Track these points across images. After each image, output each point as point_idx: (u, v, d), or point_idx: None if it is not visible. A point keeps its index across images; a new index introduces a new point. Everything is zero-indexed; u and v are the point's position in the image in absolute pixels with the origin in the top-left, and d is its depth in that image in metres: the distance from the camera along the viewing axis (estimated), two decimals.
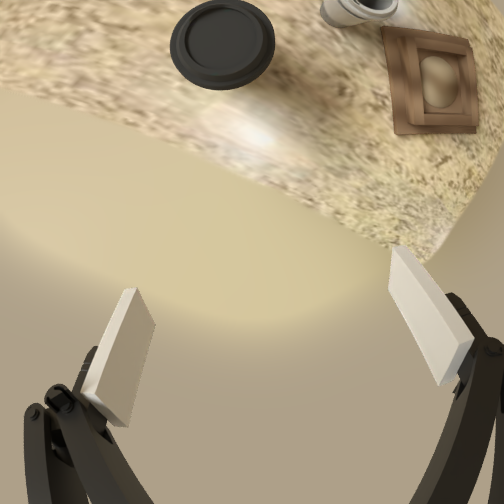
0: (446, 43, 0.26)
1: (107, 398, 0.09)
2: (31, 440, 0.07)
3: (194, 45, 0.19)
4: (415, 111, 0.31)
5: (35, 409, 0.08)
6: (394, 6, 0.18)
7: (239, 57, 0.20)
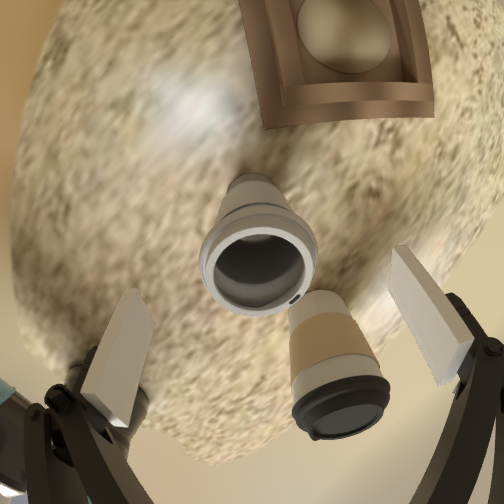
0: (273, 16, 0.15)
1: (107, 398, 0.09)
2: (31, 440, 0.07)
3: (344, 430, 0.22)
4: (415, 99, 0.18)
5: (35, 409, 0.08)
6: (289, 235, 0.15)
7: (369, 410, 0.21)
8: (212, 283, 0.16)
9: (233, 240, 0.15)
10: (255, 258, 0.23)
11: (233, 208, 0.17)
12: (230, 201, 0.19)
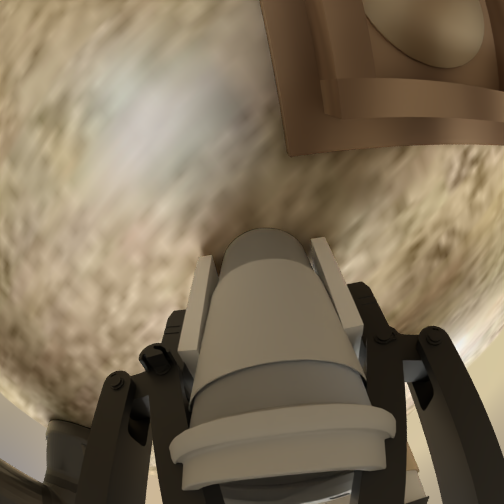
0: None
1: None
2: (106, 411, 0.08)
3: None
4: None
5: (120, 378, 0.09)
6: (359, 468, 0.05)
7: None
8: None
9: (234, 480, 0.05)
10: None
11: (233, 366, 0.08)
12: (227, 323, 0.09)
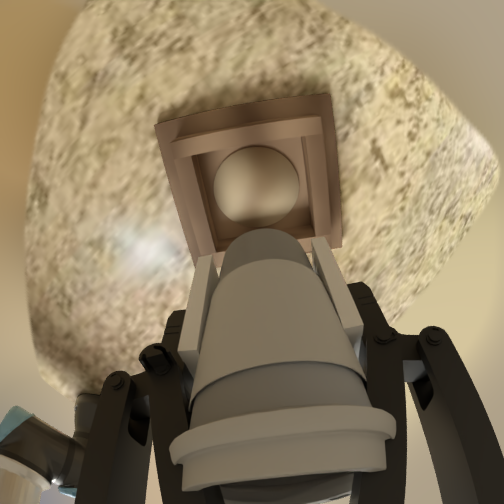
0: (187, 201, 0.25)
1: None
2: (106, 411, 0.08)
3: None
4: None
5: (120, 378, 0.09)
6: (359, 469, 0.05)
7: None
8: None
9: (234, 482, 0.05)
10: None
11: (233, 367, 0.08)
12: (227, 324, 0.09)
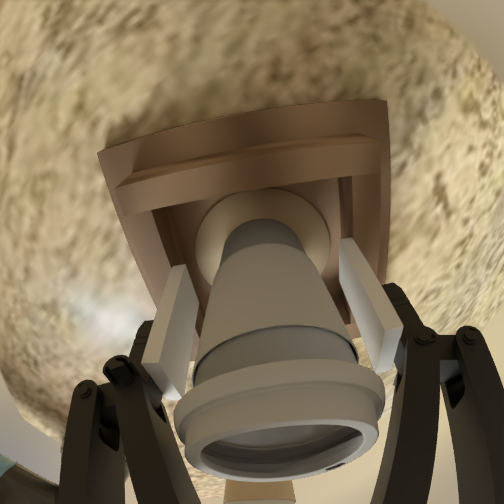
0: (152, 279, 0.16)
1: (168, 368, 0.11)
2: (77, 419, 0.08)
3: None
4: None
5: (88, 387, 0.09)
6: (349, 422, 0.06)
7: None
8: (200, 463, 0.07)
9: (234, 434, 0.06)
10: None
11: (232, 332, 0.09)
12: (227, 299, 0.11)
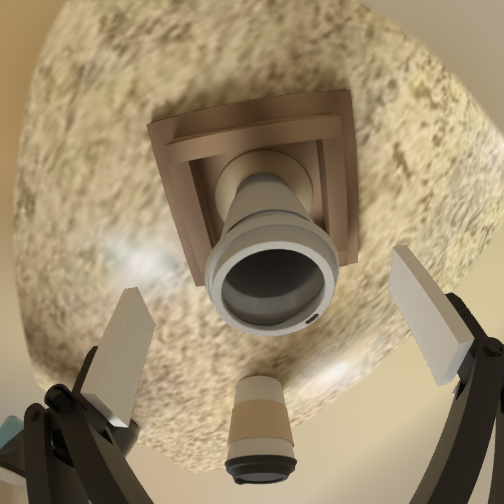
0: (184, 212, 0.22)
1: (107, 398, 0.09)
2: (31, 440, 0.07)
3: (263, 480, 0.30)
4: None
5: (35, 409, 0.08)
6: (309, 251, 0.13)
7: (275, 473, 0.28)
8: (220, 302, 0.14)
9: (244, 256, 0.13)
10: (266, 267, 0.21)
11: (244, 215, 0.15)
12: (240, 206, 0.17)
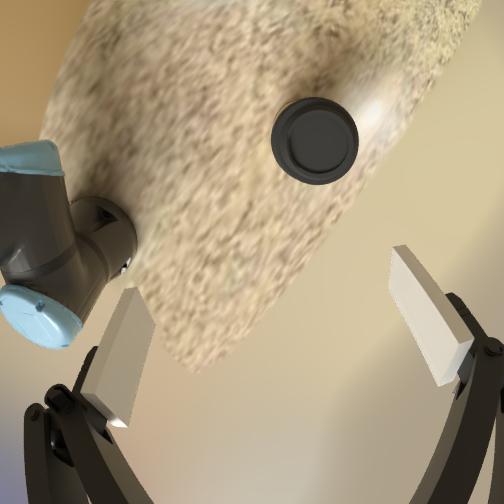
0: None
1: (107, 398, 0.09)
2: (31, 440, 0.07)
3: (321, 165, 0.27)
4: None
5: (35, 409, 0.08)
6: None
7: (338, 131, 0.26)
8: None
9: None
10: None
11: None
12: None
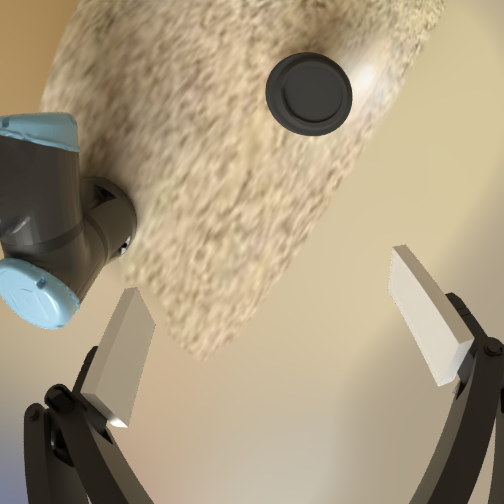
0: None
1: (107, 398, 0.09)
2: (31, 440, 0.07)
3: (317, 115, 0.26)
4: None
5: (35, 409, 0.08)
6: None
7: (331, 81, 0.24)
8: None
9: None
10: None
11: None
12: None
